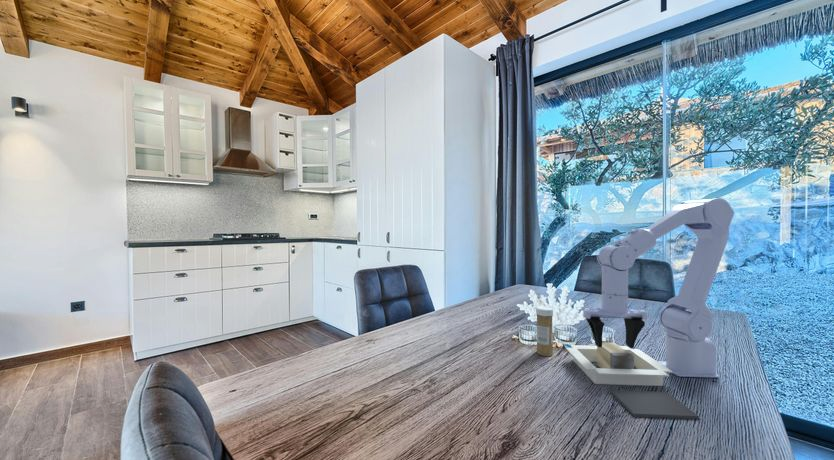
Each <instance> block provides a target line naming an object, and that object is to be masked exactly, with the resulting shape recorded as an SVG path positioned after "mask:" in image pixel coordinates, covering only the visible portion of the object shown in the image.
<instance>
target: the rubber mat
mask: <svg viewBox="0 0 834 460" xmlns="http://www.w3.org/2000/svg"><path fill="white" fill-rule="evenodd" d="M610 394H611V395H612V396H613V397H614V398H615V399H616V400H617V401H618V402H619V403H620V404H621V405H622V407H624V409H626V410H627V411H628V412H629V414H631V416H632V417H634V418H635V417H637V418H657V419H659V418H661V419H662V418H664V419H686V420H687V419H688V420H699V417H700V416H699V415H698V414H697V413H696V412H695V411H693V410H692V409H690V408H689V407H688V406H686V405H685V404H683V402H681V401H680V400H679V399H678V398H676V397H674V396H673V395H672V394H671V393H669V392H668V391H648V390H621V389H620V390H617V389H615V390H614V389H613V390H612V389H611V390H610Z"/></svg>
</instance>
